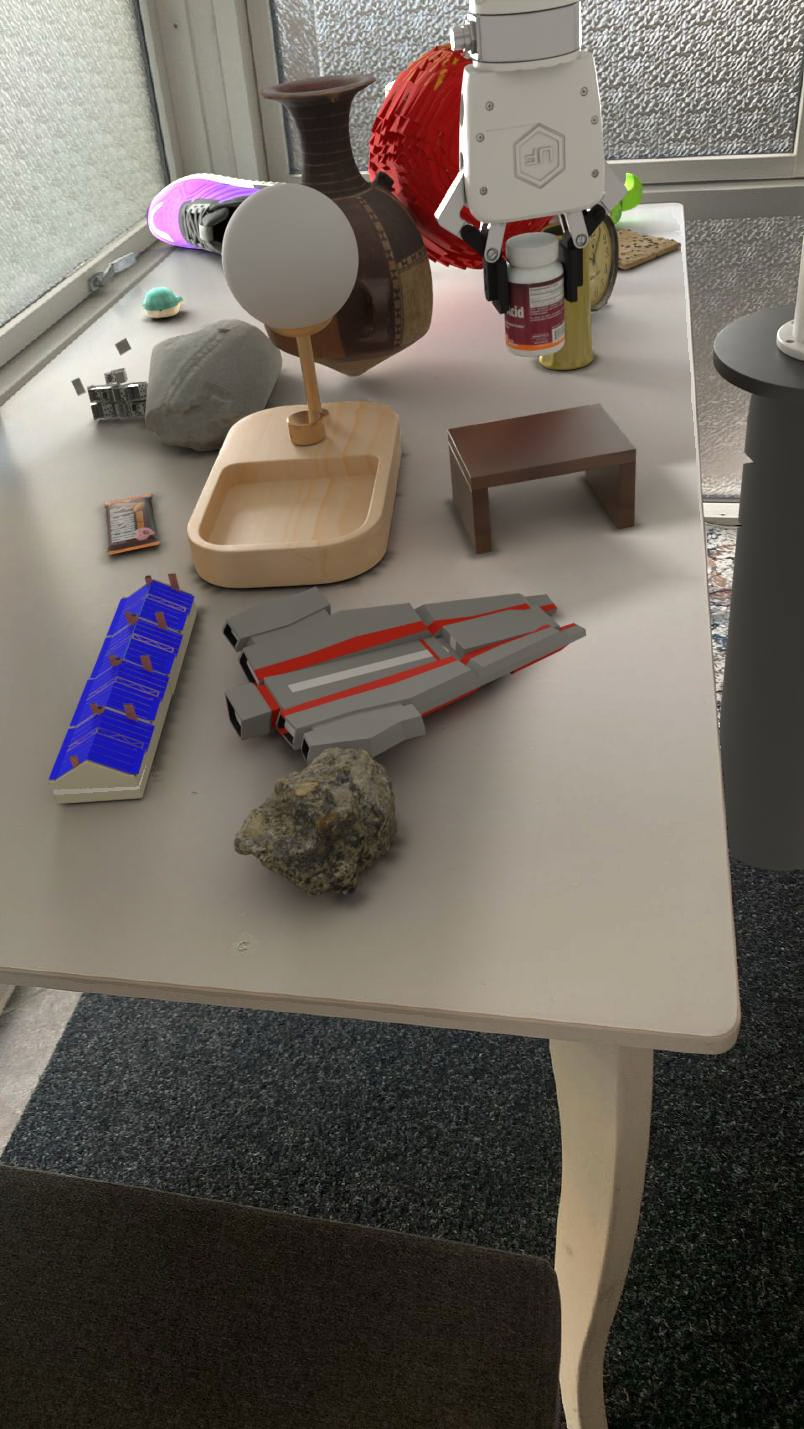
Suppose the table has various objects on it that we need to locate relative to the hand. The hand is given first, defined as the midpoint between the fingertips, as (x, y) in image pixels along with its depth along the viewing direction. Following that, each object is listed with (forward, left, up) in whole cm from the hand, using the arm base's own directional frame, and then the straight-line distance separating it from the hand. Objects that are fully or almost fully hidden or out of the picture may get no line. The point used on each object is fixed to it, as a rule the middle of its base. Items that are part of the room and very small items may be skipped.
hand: (534, 300), depth 88 cm
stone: (+35, -37, -14) cm, 53 cm away
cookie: (-30, -68, -20) cm, 77 cm away
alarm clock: (-17, -46, -19) cm, 52 cm away
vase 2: (-12, -33, -19) cm, 40 cm away
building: (+36, +17, -19) cm, 44 cm away
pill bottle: (0, 0, -4) cm, 4 cm away
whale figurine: (+34, -74, -19) cm, 84 cm away
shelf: (0, 0, -19) cm, 19 cm away
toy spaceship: (+15, +21, -14) cm, 30 cm away
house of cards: (+40, -38, -14) cm, 56 cm away
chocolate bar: (+37, -11, -19) cm, 43 cm away
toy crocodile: (-28, -82, -19) cm, 89 cm away
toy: (-6, -64, -4) cm, 65 cm away
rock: (+26, +42, -17) cm, 52 cm away
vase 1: (+11, -39, -19) cm, 45 cm away
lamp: (+20, -11, -19) cm, 30 cm away
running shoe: (+21, -104, -14) cm, 107 cm away
